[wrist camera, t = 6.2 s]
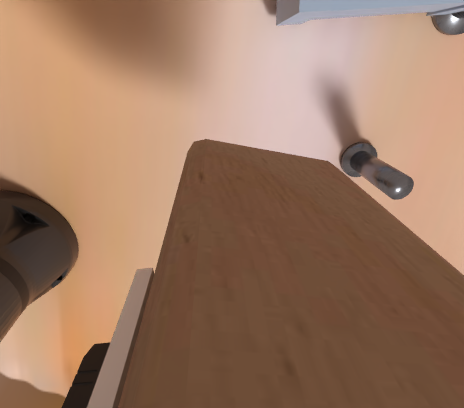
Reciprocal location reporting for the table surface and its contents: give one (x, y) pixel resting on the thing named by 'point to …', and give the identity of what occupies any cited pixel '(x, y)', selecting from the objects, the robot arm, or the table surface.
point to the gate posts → (365, 156)
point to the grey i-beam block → (359, 8)
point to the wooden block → (293, 295)
